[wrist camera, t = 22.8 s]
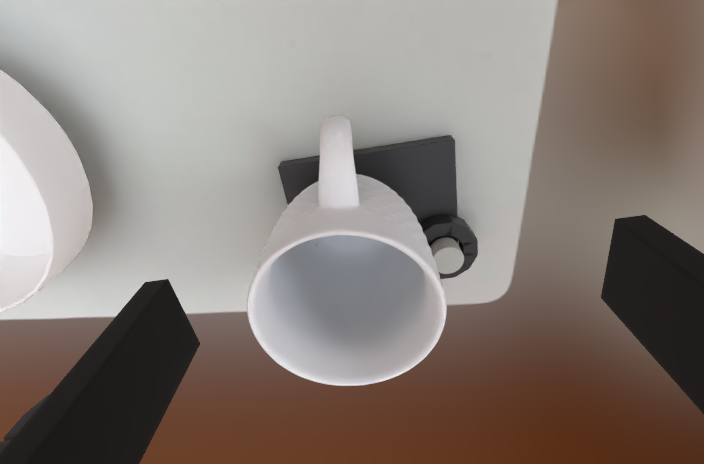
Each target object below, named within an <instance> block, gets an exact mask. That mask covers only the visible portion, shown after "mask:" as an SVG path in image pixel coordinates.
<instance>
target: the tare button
mask: <svg viewBox="0 0 704 464" xmlns="http://www.w3.org/2000/svg"><path fill="white" fill-rule="evenodd" d="M430 248H431V252H432V256H433V258H434V260H435V261H436V267H437V270H438V272H440V273H443V274H450V273H454V272H456V271H457V270H459V269H460V268H461V266H462V265H463V262H464V255H463V253H462V251H461V249H460V247H459V245H458V243H457V242H456V241H455V240H454V239H452V238H449V237H442V238H439V239H437V240H435V241H434V242H433V243H432V244H431V245H430Z"/></svg>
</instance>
